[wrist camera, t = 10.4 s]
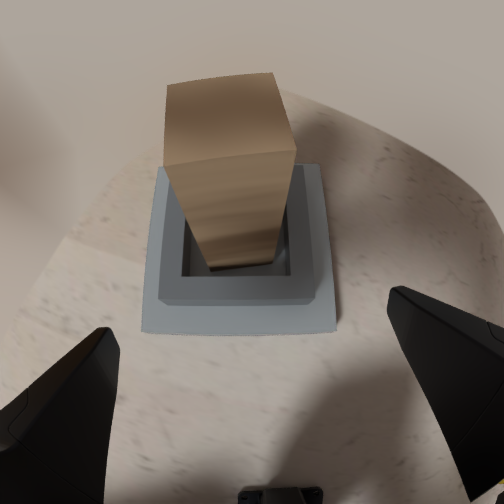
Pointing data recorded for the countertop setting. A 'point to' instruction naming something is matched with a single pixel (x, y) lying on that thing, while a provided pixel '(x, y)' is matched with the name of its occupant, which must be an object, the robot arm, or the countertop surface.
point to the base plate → (241, 272)
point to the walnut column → (230, 165)
